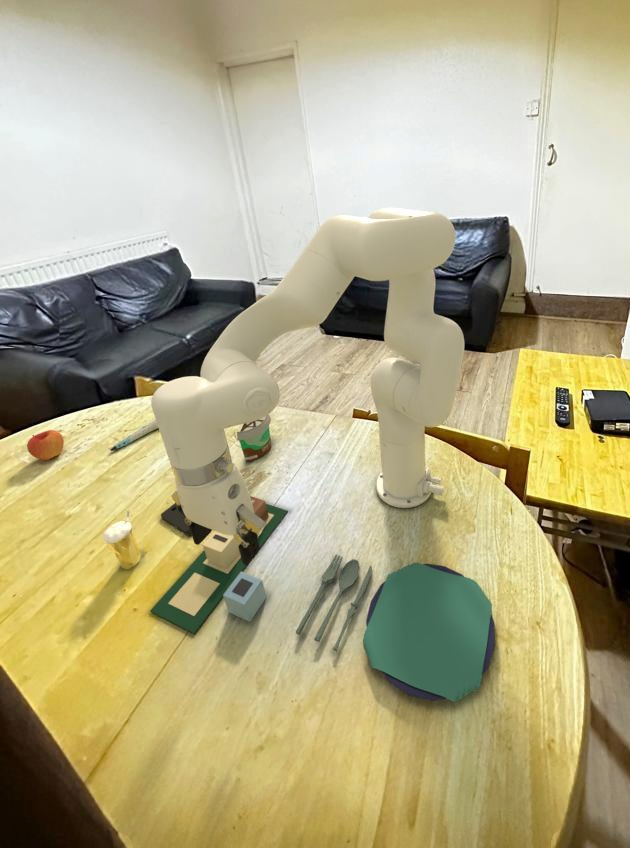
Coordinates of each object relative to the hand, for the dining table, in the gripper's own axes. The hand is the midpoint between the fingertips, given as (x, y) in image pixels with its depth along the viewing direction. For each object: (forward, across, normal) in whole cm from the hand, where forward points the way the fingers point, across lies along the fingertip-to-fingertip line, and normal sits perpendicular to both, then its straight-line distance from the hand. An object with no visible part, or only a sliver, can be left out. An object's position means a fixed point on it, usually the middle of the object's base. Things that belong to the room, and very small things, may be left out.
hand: (227, 546), depth 65 cm
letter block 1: (+13, +9, -6) cm, 17 cm away
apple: (+14, +75, -12) cm, 78 cm away
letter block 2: (+13, +9, -14) cm, 21 cm away
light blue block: (+14, -1, 0) cm, 14 cm away
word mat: (+14, +9, -6) cm, 18 cm away
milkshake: (+14, +26, +1) cm, 30 cm away
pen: (+14, +58, -29) cm, 67 cm away
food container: (+14, +22, -34) cm, 43 cm away
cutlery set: (+14, -26, -7) cm, 30 cm away
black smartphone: (+14, +24, -10) cm, 30 cm away
